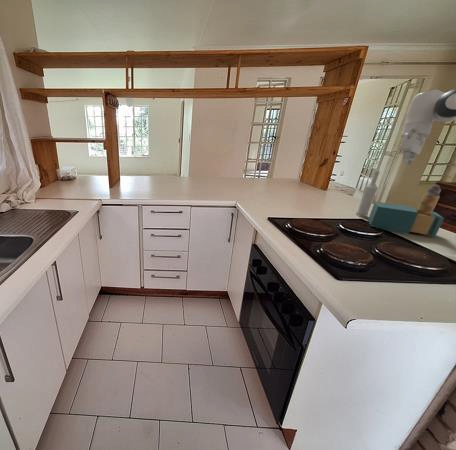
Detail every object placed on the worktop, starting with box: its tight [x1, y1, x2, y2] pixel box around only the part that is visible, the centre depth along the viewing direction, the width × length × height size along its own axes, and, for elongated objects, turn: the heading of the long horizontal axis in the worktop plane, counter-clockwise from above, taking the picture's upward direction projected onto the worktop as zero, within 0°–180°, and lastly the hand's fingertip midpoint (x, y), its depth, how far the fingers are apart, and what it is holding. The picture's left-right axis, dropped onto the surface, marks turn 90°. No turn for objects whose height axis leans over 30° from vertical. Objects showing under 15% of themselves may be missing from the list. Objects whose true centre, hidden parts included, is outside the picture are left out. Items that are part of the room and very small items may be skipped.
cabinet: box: [367, 201, 418, 235], centre depth 115 cm, size 14×14×11 cm
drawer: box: [409, 209, 445, 238], centre depth 110 cm, size 14×12×9 cm
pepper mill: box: [416, 184, 442, 216], centre depth 107 cm, size 5×5×21 cm
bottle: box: [355, 170, 381, 217], centre depth 130 cm, size 5×5×25 cm
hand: (407, 163), depth 107 cm, fingers open, 8 cm apart
